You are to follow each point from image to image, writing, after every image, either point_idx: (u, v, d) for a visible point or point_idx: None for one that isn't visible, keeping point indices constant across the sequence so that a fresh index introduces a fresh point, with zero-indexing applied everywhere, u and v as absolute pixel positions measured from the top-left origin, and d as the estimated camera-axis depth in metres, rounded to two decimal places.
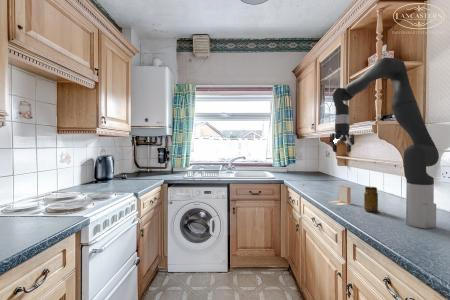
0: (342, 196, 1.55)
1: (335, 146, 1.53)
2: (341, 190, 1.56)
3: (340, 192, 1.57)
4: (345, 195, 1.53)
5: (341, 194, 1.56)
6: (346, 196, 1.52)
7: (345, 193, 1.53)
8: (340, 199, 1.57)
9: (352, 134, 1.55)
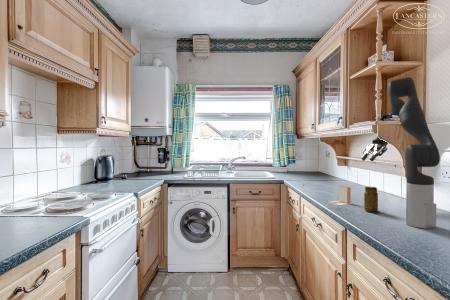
0: (342, 196, 1.55)
1: (364, 154, 1.59)
2: (341, 190, 1.56)
3: (340, 192, 1.57)
4: (345, 195, 1.53)
5: (341, 194, 1.56)
6: (346, 196, 1.52)
7: (345, 193, 1.53)
8: (340, 199, 1.57)
9: (384, 145, 1.51)
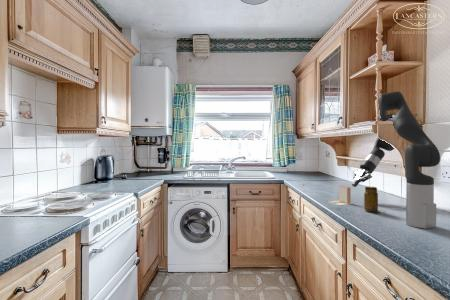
0: (342, 196, 1.55)
1: (354, 180, 1.59)
2: (341, 190, 1.56)
3: (340, 192, 1.57)
4: (345, 195, 1.53)
5: (341, 194, 1.56)
6: (346, 196, 1.52)
7: (345, 193, 1.53)
8: (340, 199, 1.57)
9: (369, 173, 1.54)
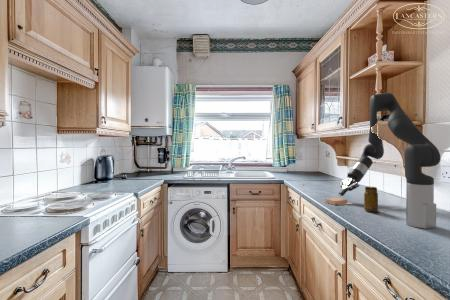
0: None
1: (341, 189, 1.56)
2: None
3: None
4: None
5: None
6: (340, 203, 1.51)
7: None
8: None
9: (356, 182, 1.51)
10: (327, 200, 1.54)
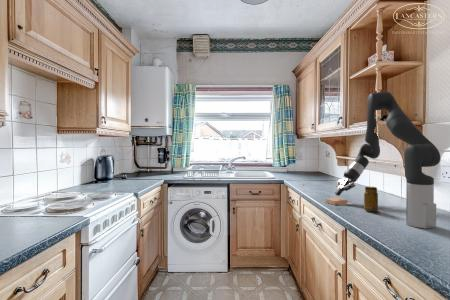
0: None
1: (337, 189, 1.55)
2: None
3: None
4: None
5: None
6: (340, 203, 1.51)
7: None
8: None
9: (352, 182, 1.50)
10: (327, 200, 1.54)
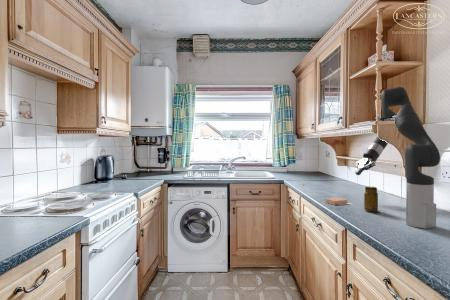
0: None
1: (358, 169, 1.59)
2: None
3: None
4: None
5: None
6: (340, 203, 1.51)
7: None
8: None
9: (372, 161, 1.55)
10: (327, 200, 1.54)
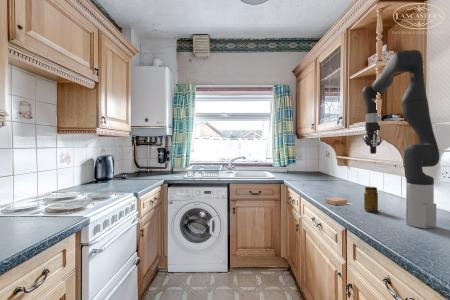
0: None
1: (373, 148, 1.50)
2: None
3: None
4: None
5: None
6: (340, 203, 1.51)
7: None
8: None
9: None
10: (327, 200, 1.54)
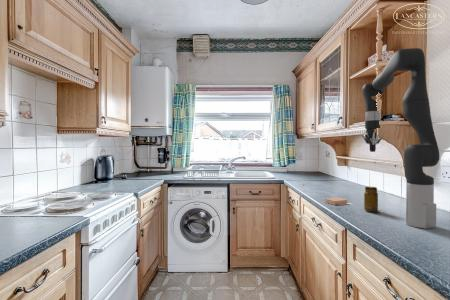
0: None
1: (372, 146, 1.50)
2: None
3: None
4: None
5: None
6: (340, 203, 1.51)
7: None
8: None
9: None
10: (327, 200, 1.54)
